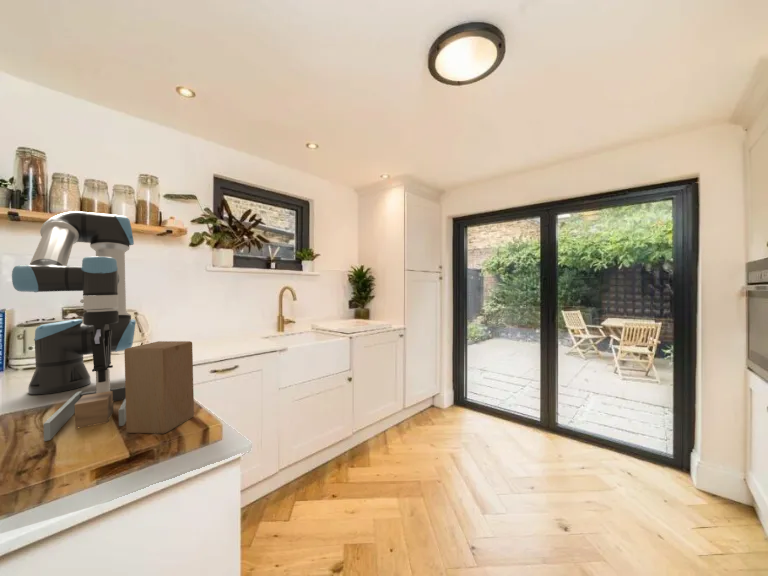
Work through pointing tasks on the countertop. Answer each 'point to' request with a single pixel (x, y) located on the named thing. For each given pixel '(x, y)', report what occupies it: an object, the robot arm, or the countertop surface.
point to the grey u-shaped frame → (69, 409)
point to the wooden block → (158, 386)
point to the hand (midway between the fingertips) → (103, 392)
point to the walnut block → (93, 409)
